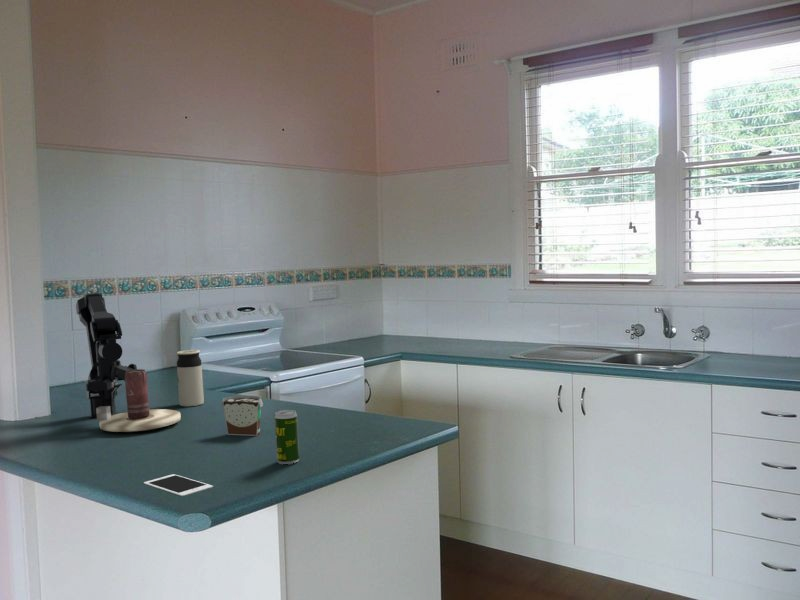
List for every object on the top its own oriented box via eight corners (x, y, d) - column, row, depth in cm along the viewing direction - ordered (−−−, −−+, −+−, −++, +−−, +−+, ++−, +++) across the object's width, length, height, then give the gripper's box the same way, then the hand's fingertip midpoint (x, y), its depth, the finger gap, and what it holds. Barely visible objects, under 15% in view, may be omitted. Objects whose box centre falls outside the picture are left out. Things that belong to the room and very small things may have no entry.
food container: (272, 430, 223) (270, 395, 222) (262, 436, 217) (260, 399, 216) (234, 429, 227) (232, 394, 226) (222, 434, 221) (220, 399, 220)
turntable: (82, 433, 225) (81, 415, 225) (114, 415, 248) (113, 399, 248) (166, 430, 224) (165, 412, 224) (190, 412, 247) (189, 396, 247)
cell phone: (182, 498, 166) (182, 495, 166) (142, 485, 177) (142, 482, 177) (213, 488, 172) (213, 485, 172) (173, 476, 183) (173, 473, 183)
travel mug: (207, 401, 270) (204, 349, 269) (199, 406, 263) (195, 352, 261) (184, 402, 271) (181, 350, 270) (175, 407, 263) (172, 353, 262)
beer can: (289, 457, 193) (286, 408, 192) (304, 460, 190) (301, 411, 189) (272, 462, 189) (269, 413, 188) (287, 466, 186) (284, 415, 185)
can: (143, 419, 232) (139, 372, 231) (124, 419, 234) (120, 372, 233) (154, 414, 238) (150, 368, 237) (135, 414, 240) (131, 368, 239)
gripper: (121, 361, 231) (125, 414, 232) (143, 352, 249) (147, 402, 250) (83, 363, 231) (87, 416, 232) (108, 354, 250) (112, 403, 251)
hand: (110, 409), depth 241 cm, fingers closed
